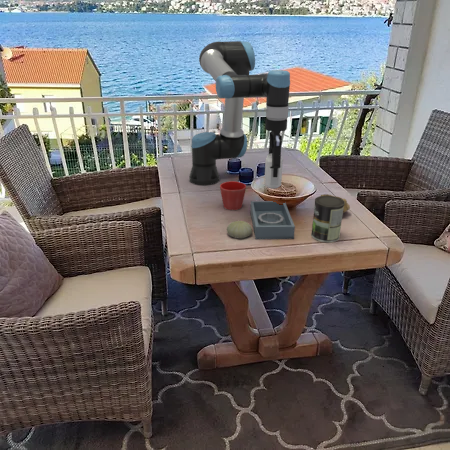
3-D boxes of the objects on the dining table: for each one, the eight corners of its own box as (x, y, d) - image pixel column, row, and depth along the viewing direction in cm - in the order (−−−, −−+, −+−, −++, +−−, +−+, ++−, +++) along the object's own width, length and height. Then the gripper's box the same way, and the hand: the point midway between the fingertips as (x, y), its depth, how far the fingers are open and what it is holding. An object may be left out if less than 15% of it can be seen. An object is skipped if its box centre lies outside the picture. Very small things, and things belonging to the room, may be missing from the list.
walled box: (250, 212, 168) (250, 201, 166) (283, 212, 169) (284, 201, 167) (255, 239, 147) (255, 226, 145) (293, 238, 147) (294, 226, 145)
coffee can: (312, 242, 145) (316, 205, 139) (310, 229, 154) (313, 194, 148) (341, 243, 144) (346, 207, 138) (337, 230, 153) (342, 196, 147)
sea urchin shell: (226, 223, 155) (241, 210, 151) (241, 237, 156) (256, 225, 153) (222, 233, 147) (238, 221, 143) (237, 248, 148) (253, 236, 145)
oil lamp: (324, 203, 177) (326, 186, 174) (354, 214, 167) (357, 196, 164) (308, 210, 171) (310, 192, 168) (339, 221, 161) (341, 202, 157)
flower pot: (243, 212, 168) (244, 190, 164) (217, 210, 170) (217, 188, 166) (247, 203, 177) (247, 182, 173) (222, 201, 179) (222, 180, 175)
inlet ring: (256, 217, 162) (256, 212, 161) (281, 217, 162) (281, 212, 161) (259, 227, 153) (259, 223, 152) (285, 227, 153) (285, 222, 152)
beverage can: (263, 188, 149) (265, 157, 143) (265, 183, 154) (266, 152, 149) (280, 189, 148) (282, 157, 142) (281, 184, 153) (283, 153, 148)
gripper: (262, 113, 149) (260, 173, 159) (268, 124, 131) (265, 191, 141) (283, 113, 149) (279, 173, 159) (292, 124, 131) (287, 190, 141)
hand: (273, 181), depth 150 cm, fingers closed on beverage can, 6 cm apart
